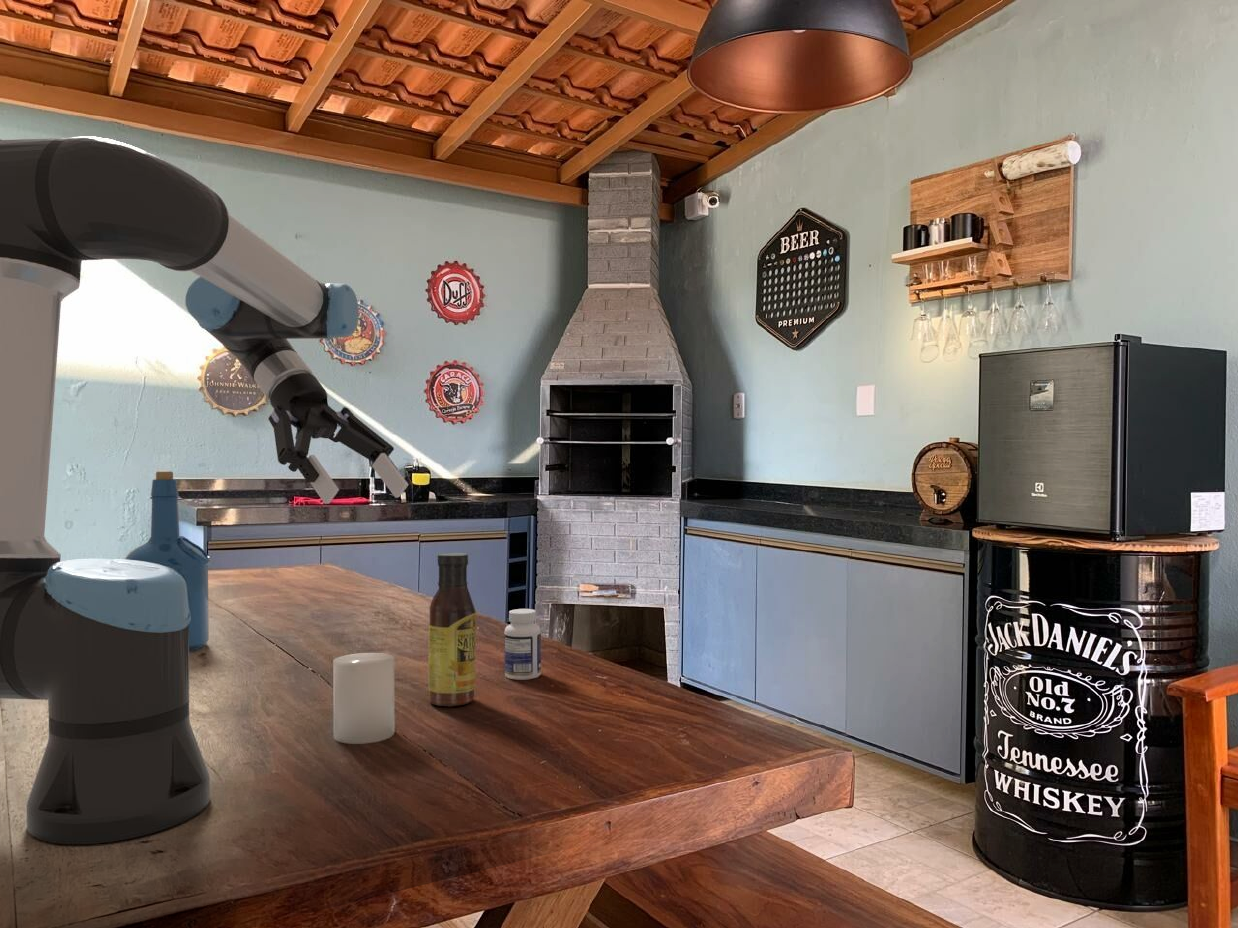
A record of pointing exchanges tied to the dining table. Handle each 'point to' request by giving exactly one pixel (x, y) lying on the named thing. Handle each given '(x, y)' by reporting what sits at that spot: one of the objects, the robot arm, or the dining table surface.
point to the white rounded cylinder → (363, 698)
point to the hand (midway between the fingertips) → (368, 494)
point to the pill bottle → (522, 645)
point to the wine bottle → (177, 554)
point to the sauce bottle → (452, 635)
